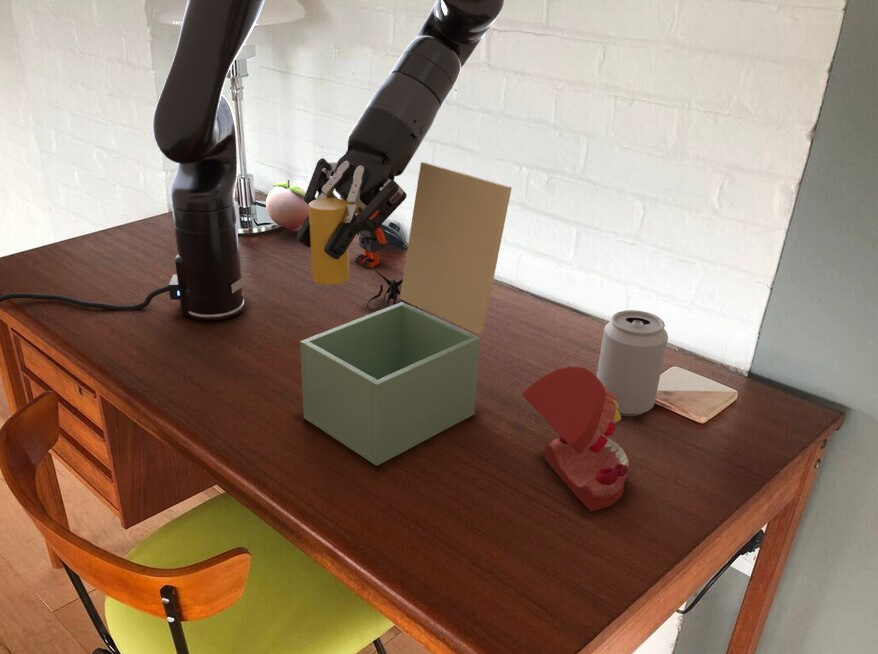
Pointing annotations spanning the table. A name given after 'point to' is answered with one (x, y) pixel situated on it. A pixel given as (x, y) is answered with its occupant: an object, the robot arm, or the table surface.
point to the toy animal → (371, 245)
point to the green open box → (389, 380)
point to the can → (632, 359)
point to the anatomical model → (582, 434)
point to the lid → (454, 245)
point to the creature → (389, 291)
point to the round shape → (322, 226)
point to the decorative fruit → (287, 205)
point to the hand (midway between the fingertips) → (316, 248)
